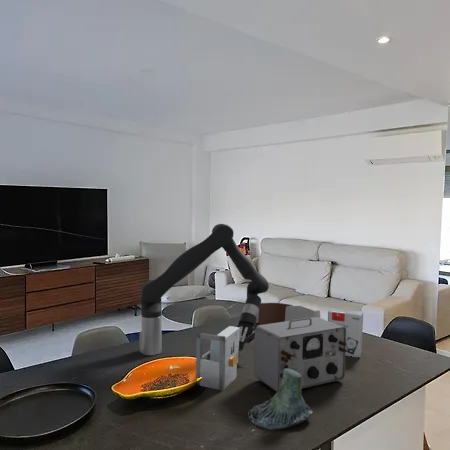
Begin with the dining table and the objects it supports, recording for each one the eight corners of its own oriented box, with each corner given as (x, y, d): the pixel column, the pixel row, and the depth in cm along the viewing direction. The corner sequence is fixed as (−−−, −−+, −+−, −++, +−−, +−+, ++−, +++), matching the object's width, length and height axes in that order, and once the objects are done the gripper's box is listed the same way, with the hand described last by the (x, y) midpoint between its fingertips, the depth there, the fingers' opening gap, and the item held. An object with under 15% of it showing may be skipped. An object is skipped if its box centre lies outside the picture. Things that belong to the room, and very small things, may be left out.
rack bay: (196, 384, 164) (196, 333, 163) (211, 372, 176) (212, 324, 175) (224, 391, 159) (225, 338, 158) (238, 377, 171) (239, 328, 170)
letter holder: (293, 329, 238) (294, 304, 237) (258, 327, 241) (258, 302, 240) (294, 324, 248) (294, 300, 247) (259, 322, 251) (260, 298, 250)
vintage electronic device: (280, 400, 152) (282, 331, 151) (254, 381, 168) (255, 318, 167) (348, 383, 167) (350, 320, 165) (317, 367, 183) (319, 309, 181)
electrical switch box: (321, 346, 216) (324, 306, 218) (311, 350, 204) (314, 307, 205) (294, 340, 224) (297, 302, 226) (282, 344, 212) (286, 303, 213)
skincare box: (221, 381, 168) (221, 341, 167) (208, 378, 170) (208, 339, 169) (239, 362, 187) (240, 326, 186) (227, 360, 189) (228, 325, 188)
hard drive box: (326, 353, 200) (327, 311, 199) (328, 348, 207) (329, 307, 206) (360, 358, 194) (362, 314, 193) (362, 352, 201) (363, 310, 200)
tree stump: (246, 403, 150) (260, 354, 150) (302, 419, 150) (315, 370, 149) (246, 428, 132) (261, 372, 132) (310, 446, 131) (325, 390, 131)
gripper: (233, 310, 198) (222, 344, 188) (260, 313, 193) (251, 348, 182) (238, 318, 203) (227, 352, 193) (264, 321, 198) (255, 356, 187)
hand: (238, 350), depth 187 cm, fingers closed
